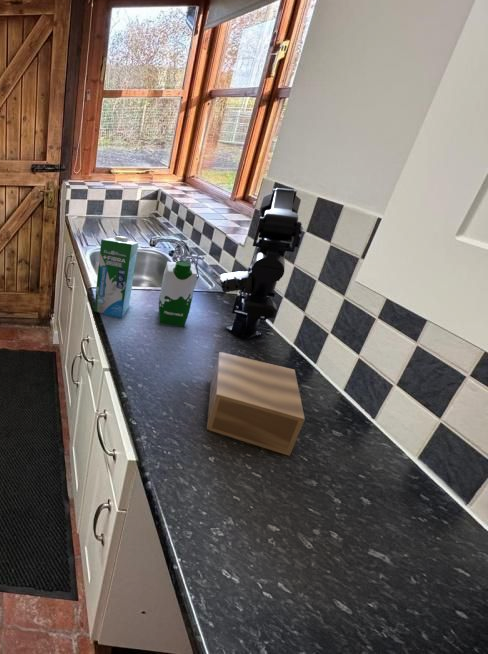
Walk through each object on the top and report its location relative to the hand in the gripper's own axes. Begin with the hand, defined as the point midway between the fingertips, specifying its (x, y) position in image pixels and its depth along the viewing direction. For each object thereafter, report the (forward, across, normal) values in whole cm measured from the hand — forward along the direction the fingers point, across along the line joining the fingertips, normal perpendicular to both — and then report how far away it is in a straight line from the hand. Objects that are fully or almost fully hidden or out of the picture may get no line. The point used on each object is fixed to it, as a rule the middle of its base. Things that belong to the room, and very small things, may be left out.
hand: (249, 324), depth 101 cm
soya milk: (+12, -16, -18) cm, 27 cm away
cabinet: (+12, +20, +2) cm, 24 cm away
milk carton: (+12, -14, -36) cm, 41 cm away
